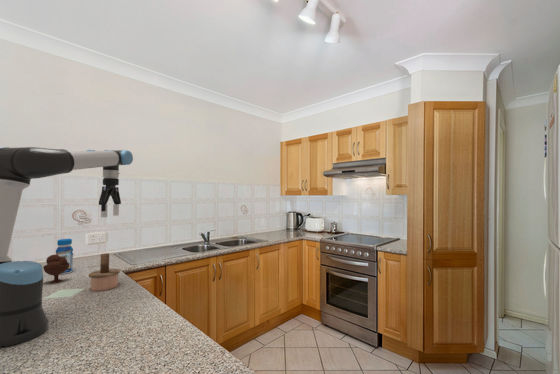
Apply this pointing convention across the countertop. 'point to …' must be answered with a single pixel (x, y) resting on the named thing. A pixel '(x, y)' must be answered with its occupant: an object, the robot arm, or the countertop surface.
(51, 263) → the brown tree figurine
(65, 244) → the beverage bottle
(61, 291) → the trivet
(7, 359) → the countertop surface
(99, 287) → the bowl
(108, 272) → the lid
